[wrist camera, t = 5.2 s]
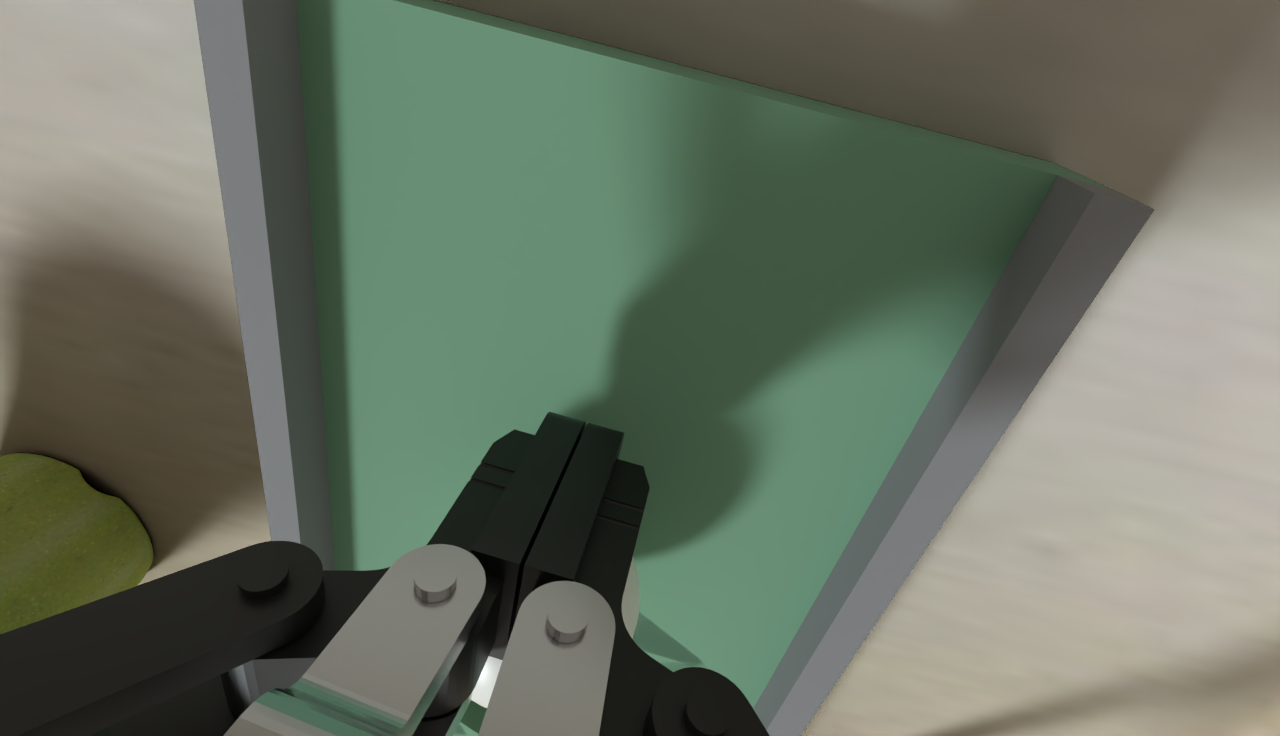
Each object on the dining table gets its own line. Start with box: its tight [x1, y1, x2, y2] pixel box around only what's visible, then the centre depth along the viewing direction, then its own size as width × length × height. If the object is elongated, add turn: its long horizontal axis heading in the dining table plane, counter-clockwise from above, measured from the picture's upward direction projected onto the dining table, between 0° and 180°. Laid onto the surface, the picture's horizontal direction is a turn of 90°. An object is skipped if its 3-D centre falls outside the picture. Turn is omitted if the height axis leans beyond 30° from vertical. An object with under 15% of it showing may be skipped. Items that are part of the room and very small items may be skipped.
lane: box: [194, 0, 1154, 736], centre depth 16 cm, size 24×14×3 cm, turn 167°
